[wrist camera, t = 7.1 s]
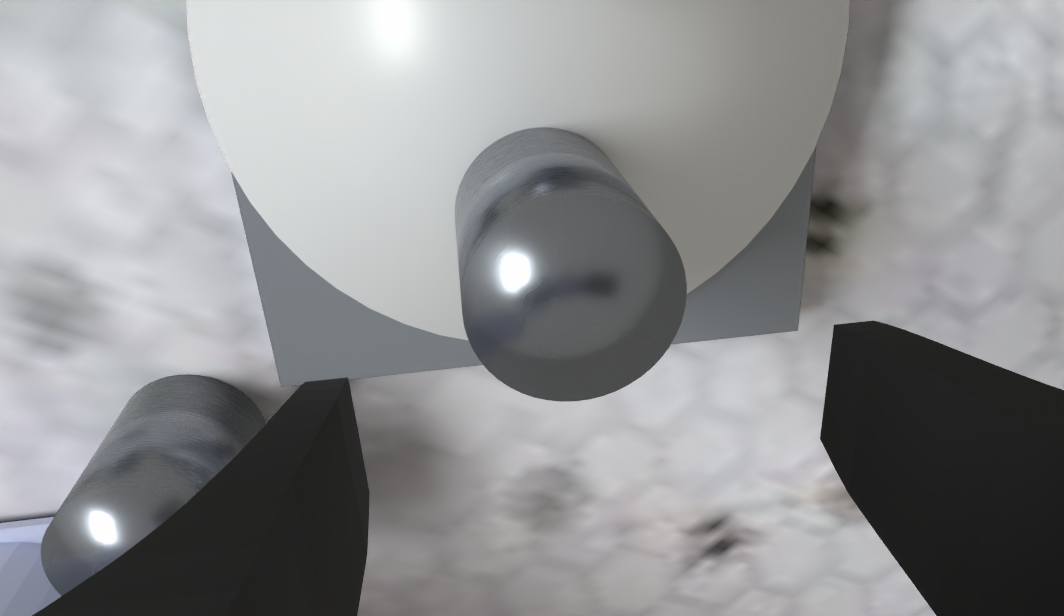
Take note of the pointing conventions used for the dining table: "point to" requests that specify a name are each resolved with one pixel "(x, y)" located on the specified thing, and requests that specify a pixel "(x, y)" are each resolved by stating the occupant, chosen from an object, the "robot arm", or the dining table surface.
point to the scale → (486, 116)
